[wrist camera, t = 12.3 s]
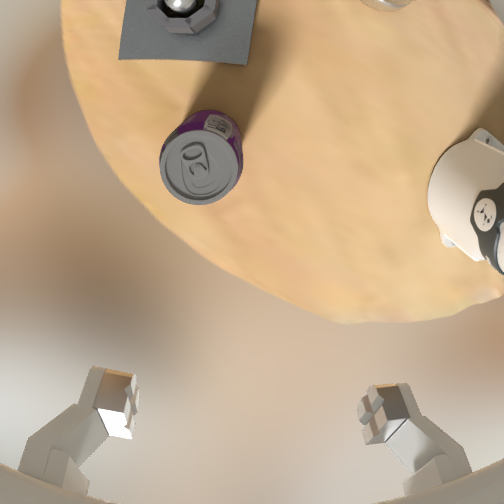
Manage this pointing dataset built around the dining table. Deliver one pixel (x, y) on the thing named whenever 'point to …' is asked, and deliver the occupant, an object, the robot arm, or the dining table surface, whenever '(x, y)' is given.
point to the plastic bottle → (387, 4)
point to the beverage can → (202, 158)
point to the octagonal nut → (183, 25)
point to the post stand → (186, 44)
